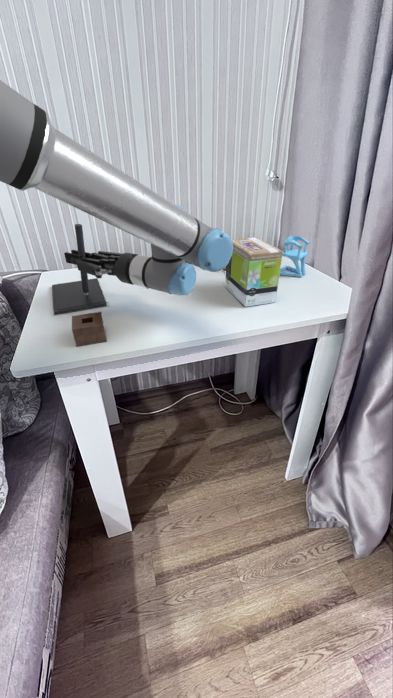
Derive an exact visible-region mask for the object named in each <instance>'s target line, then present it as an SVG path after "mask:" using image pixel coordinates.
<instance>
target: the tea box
mask: <svg viewBox="0 0 393 698" xmlns="http://www.w3.org/2000/svg"><path fill="white" fill-rule="evenodd" d="M231 240H232V243H233V253H232V256H231V258H230V260H229V263H228V264H227V265H226V270H225V278H224V279H225V280H224V281H225V282H224V283H225V284H224V285H225V286H224V287H225V288H226V289H227V290H228V291H229V292H230V293H231V295H232V296H234V297H235V298H236V300H237V301H239V303H240V304H242V305H243V306H244V307H254V306H261V305H266V304H272V303H276V301H277V295H278V287H279V283H280V282H279V281H280V280H279V279H280V276H281V275H280V269H281V268H282V267H281V266H282V260H283V256H282V253H283V252H284V250H282V249H280V248H279V247H277V246H274V245H273V244H271V243H269V242H267V241H265V240H263V239H261V238H260V237H257V236H256V237H255V236H253V237H245V238H235V239H234V238H233V239H231Z"/></svg>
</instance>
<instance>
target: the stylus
mask: <svg viewBox="0 0 393 698" xmlns="http://www.w3.org/2000/svg"><path fill="white" fill-rule="evenodd" d="M74 230H75V239H76V247H77V251H78V255H83V256H84V258H86V256H85V252H86V250H85V249H86V248H85V239H84V231H83V225H82V224H81V223H76V224H74ZM79 274H80V279H81V280H80V281H82V289H83V292H84V294H85V295H88V292H89V284H88V279H89V276H88V273H85V272H82V271H79Z"/></svg>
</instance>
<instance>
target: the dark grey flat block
mask: <svg viewBox="0 0 393 698" xmlns="http://www.w3.org/2000/svg"><path fill="white" fill-rule="evenodd" d="M88 284H89V292H88V295H85V294H84V292H83V289H82V281H81V280H77V281H69V282H62V283H56V284H51V290H52V293H51V294H52V310H53V315H54V316H58V315H63V314H68V313H69V314H70V313H75V312H80V311H85V310H92V309H97V308H102V307H103V308H104V307H107V306H108V303H107V301H106V297H105V294H104V291H103V289H102V287H101V285H100V282H99V278H97V277H95V278H90V279H89V278H88Z"/></svg>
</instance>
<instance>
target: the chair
mask: <svg viewBox="0 0 393 698" xmlns="http://www.w3.org/2000/svg"><path fill="white" fill-rule="evenodd" d="M298 241H301V242H303V243H304V244H305V245H304V246H303V245H302V244H300V243H299V242H298ZM309 244H310V241H308V240H307V239H306V238H304V237H302V236H299V235H289V236H287V237H286V238H285V240H284V241H283V247H284V250H283V253H282V257H284V258H285V257H286V258H288V259H290V260H291V261H292V263H293V264H294V267H293V266H291V265H283V266H282V267H280V275H279V276H288V277H296V278H303V276H306V256H308V255H309V251H307V248H308V245H309ZM289 245H290V248H288V246H289ZM294 246H295V247H297V248H298V249H295V248H294ZM302 248H303V250H302ZM299 262H300V263H299ZM286 269H287V270H290V271H291V272H289V271H284V270H286Z"/></svg>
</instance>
